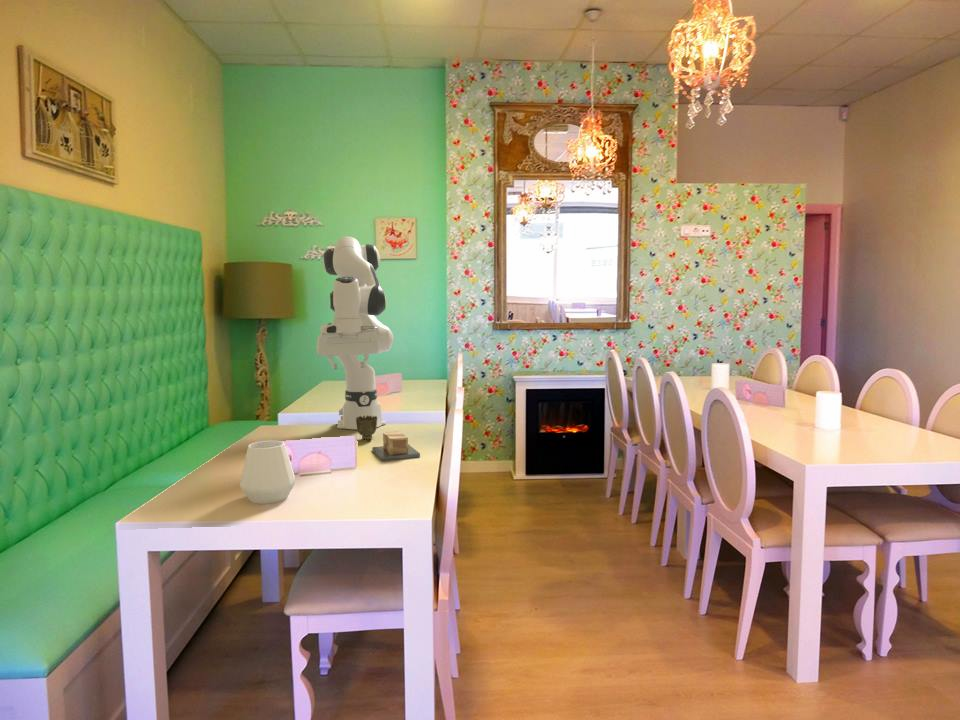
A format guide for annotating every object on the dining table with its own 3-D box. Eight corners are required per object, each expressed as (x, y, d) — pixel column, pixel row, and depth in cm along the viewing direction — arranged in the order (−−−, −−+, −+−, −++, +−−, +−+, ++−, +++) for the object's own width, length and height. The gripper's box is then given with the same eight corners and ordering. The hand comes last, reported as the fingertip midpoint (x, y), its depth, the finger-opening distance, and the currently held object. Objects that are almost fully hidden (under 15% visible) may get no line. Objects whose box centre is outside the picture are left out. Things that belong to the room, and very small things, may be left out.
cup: (375, 441, 225) (375, 419, 224) (354, 442, 225) (353, 419, 225) (379, 437, 233) (378, 415, 232) (358, 437, 233) (358, 415, 232)
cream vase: (231, 498, 165) (228, 444, 164) (278, 486, 175) (276, 435, 173) (257, 510, 156) (254, 453, 155) (306, 496, 166) (304, 443, 164)
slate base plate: (372, 450, 213) (371, 438, 212) (407, 447, 217) (407, 435, 217) (382, 461, 200) (382, 448, 199) (420, 457, 204) (419, 444, 204)
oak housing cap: (383, 447, 212) (383, 432, 211) (399, 446, 214) (399, 431, 213) (391, 454, 203) (390, 439, 202) (408, 452, 205) (407, 437, 204)
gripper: (376, 324, 220) (377, 365, 222) (315, 327, 213) (316, 368, 214) (381, 326, 215) (382, 367, 217) (318, 328, 207) (319, 371, 209)
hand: (348, 368), depth 215 cm, fingers open, 8 cm apart
